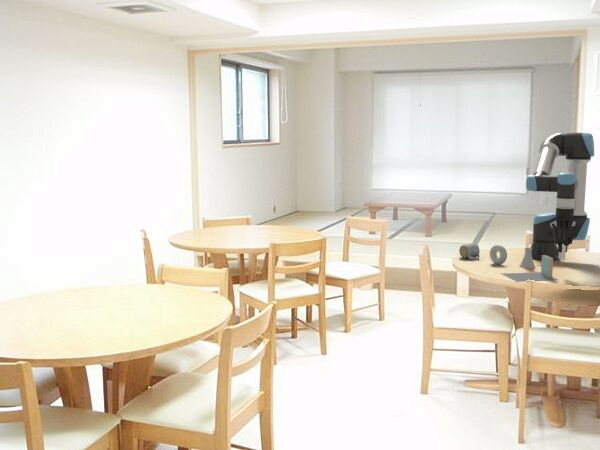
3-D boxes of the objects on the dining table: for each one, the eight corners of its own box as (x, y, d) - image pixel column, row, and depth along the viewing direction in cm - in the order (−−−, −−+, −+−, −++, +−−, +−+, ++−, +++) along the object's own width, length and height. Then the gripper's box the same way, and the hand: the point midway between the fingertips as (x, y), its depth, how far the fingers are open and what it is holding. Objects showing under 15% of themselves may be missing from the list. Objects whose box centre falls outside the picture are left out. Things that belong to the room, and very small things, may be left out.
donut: (508, 265, 316) (509, 245, 315) (503, 266, 315) (504, 246, 313) (492, 262, 325) (493, 242, 323) (487, 263, 323) (488, 243, 322)
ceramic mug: (457, 257, 338) (458, 242, 337) (470, 255, 342) (471, 241, 340) (470, 261, 329) (471, 246, 327) (483, 259, 332) (484, 245, 331)
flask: (527, 270, 306) (528, 250, 304) (516, 267, 312) (517, 247, 311) (538, 269, 308) (539, 249, 307) (527, 266, 315) (528, 246, 314)
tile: (544, 274, 294) (545, 255, 293) (552, 277, 287) (553, 258, 286) (540, 274, 294) (542, 255, 292) (548, 278, 287) (549, 258, 286)
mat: (541, 273, 299) (541, 272, 299) (559, 281, 283) (559, 280, 283) (500, 275, 296) (500, 273, 296) (516, 283, 280) (516, 281, 280)
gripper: (574, 206, 291) (570, 257, 295) (547, 206, 290) (544, 258, 293) (583, 208, 284) (580, 260, 287) (555, 208, 282) (552, 261, 286)
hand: (561, 259), depth 290 cm, fingers closed
